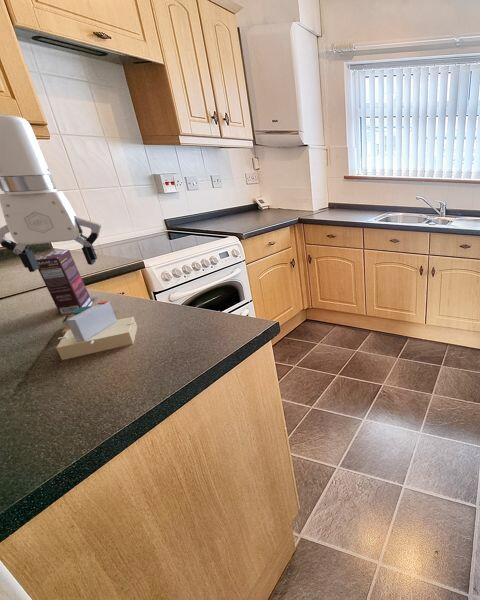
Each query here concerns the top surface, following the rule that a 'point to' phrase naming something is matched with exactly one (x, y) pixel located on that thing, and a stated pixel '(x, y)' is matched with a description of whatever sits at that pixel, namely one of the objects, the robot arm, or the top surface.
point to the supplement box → (63, 281)
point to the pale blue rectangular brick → (92, 321)
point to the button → (80, 310)
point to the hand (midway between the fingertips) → (64, 266)
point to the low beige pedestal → (99, 339)
